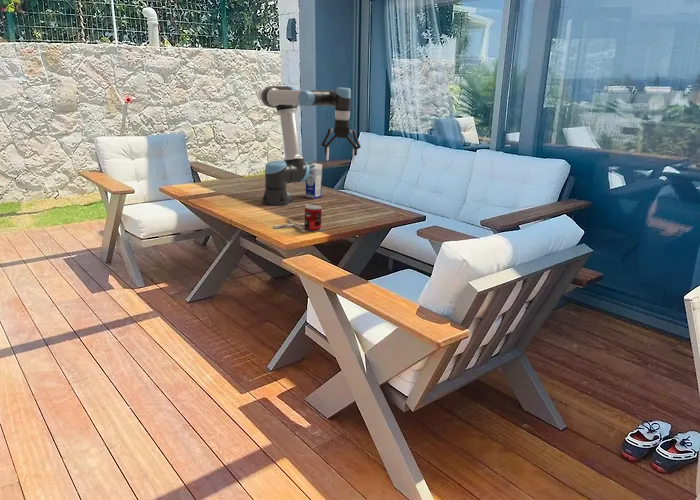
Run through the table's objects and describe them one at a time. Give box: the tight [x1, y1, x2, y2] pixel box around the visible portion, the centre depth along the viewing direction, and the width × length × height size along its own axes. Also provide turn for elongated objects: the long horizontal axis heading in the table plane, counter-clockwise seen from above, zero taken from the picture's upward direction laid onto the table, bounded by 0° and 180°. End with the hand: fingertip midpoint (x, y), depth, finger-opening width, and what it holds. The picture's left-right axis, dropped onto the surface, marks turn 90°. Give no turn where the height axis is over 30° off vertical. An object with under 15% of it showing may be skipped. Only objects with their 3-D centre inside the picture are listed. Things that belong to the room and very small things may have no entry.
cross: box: [272, 218, 324, 233], centre depth 265 cm, size 22×22×1 cm
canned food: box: [304, 204, 323, 231], centre depth 260 cm, size 8×8×11 cm
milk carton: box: [305, 162, 323, 200], centre depth 325 cm, size 7×7×20 cm
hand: (340, 161), depth 283 cm, fingers open, 13 cm apart
